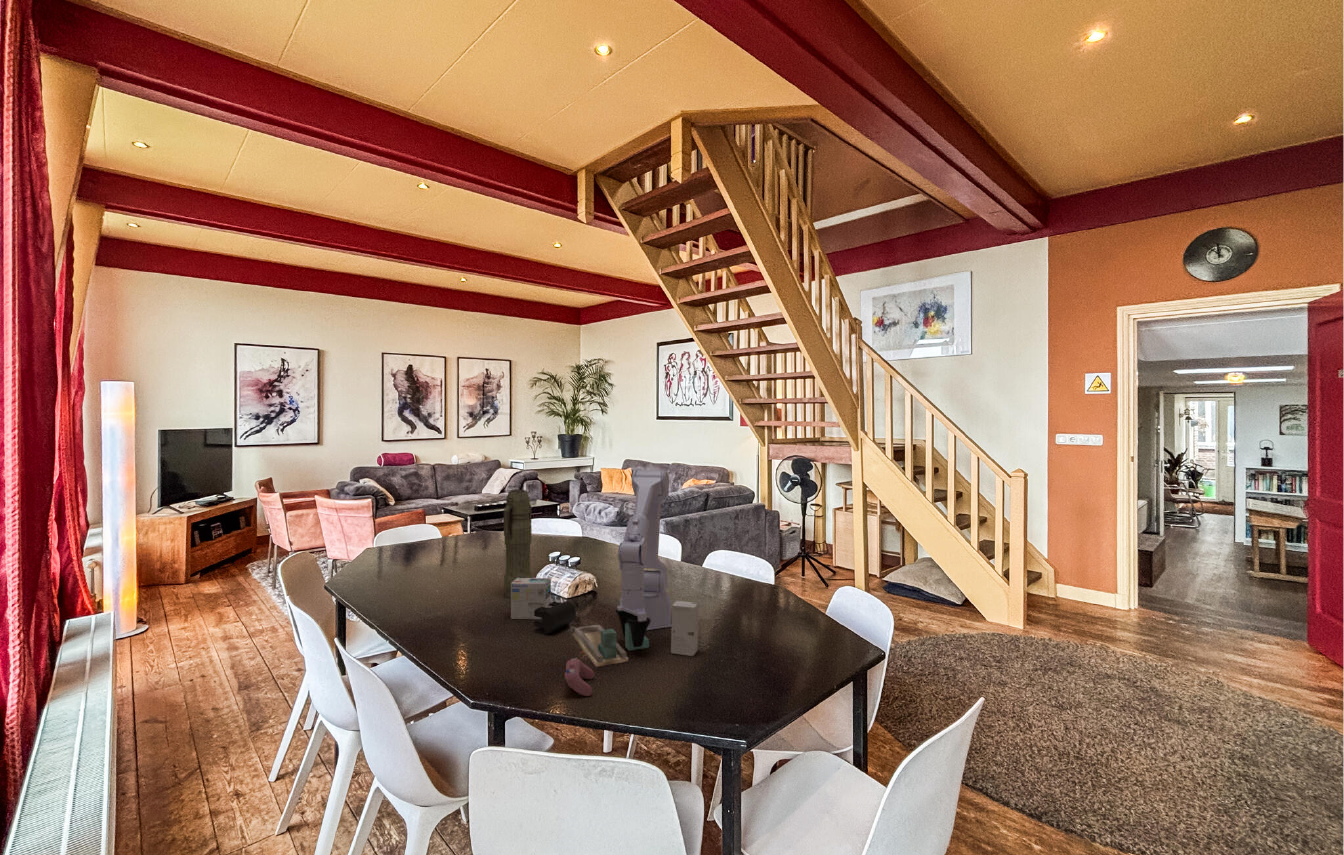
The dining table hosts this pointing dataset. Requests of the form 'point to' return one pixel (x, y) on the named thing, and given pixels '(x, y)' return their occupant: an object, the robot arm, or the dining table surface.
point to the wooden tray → (600, 645)
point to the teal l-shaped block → (629, 639)
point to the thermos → (517, 537)
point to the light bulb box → (529, 596)
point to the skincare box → (684, 628)
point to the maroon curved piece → (578, 676)
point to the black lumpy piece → (554, 616)
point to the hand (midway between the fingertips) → (632, 641)
